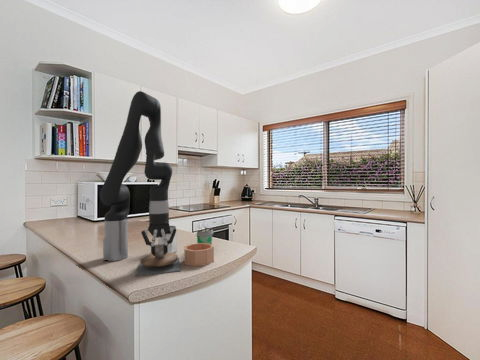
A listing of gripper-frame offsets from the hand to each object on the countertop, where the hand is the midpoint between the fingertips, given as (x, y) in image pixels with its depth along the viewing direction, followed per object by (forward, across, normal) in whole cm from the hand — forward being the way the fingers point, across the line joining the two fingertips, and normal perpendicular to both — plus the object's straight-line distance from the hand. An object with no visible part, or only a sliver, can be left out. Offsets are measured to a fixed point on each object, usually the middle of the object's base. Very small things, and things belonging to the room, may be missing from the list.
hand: (159, 254), depth 96 cm
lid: (+2, 0, 0) cm, 2 cm away
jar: (+5, +3, +21) cm, 22 cm away
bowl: (+5, +16, +2) cm, 17 cm away
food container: (+5, +22, +18) cm, 29 cm away
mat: (+5, 0, 0) cm, 5 cm away
